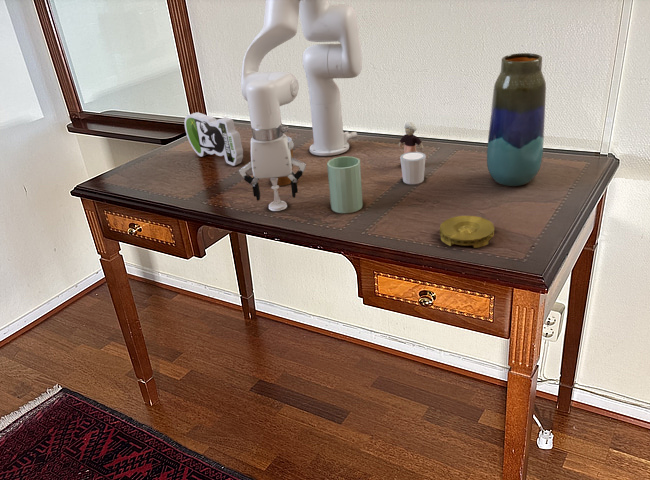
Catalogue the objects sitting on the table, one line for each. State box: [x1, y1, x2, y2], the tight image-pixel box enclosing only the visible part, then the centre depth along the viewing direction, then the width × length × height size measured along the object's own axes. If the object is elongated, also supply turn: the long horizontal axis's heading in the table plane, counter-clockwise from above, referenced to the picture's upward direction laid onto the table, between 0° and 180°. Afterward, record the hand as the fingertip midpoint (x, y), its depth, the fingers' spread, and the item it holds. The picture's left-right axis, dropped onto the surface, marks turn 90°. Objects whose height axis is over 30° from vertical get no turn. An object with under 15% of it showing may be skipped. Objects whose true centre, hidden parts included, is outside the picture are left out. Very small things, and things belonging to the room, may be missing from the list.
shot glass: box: [399, 151, 427, 185], centre depth 171 cm, size 7×7×7 cm
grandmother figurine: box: [398, 121, 424, 154], centre depth 179 cm, size 8×4×13 cm, turn 68°
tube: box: [326, 155, 364, 214], centre depth 160 cm, size 8×8×12 cm
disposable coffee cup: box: [270, 136, 295, 187], centre depth 178 cm, size 10×10×12 cm
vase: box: [486, 52, 547, 187], centre depth 159 cm, size 14×14×31 cm
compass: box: [439, 215, 495, 249], centre depth 143 cm, size 12×12×2 cm
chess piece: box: [268, 177, 288, 212], centre depth 164 cm, size 5×5×10 cm
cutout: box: [183, 111, 244, 166], centre depth 199 cm, size 15×3×25 cm
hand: (276, 197), depth 165 cm, fingers open, 9 cm apart
